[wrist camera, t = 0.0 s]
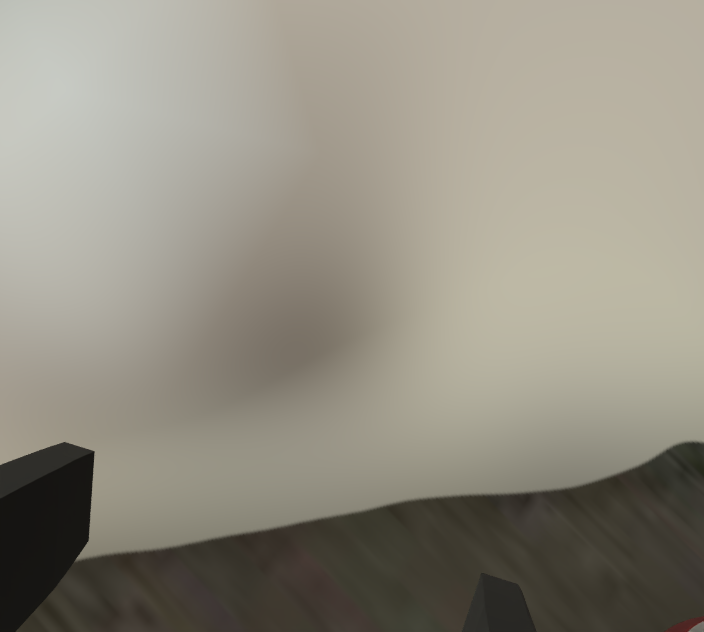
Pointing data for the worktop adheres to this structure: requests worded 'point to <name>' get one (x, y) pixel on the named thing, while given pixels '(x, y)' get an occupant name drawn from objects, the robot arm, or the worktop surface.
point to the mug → (689, 626)
